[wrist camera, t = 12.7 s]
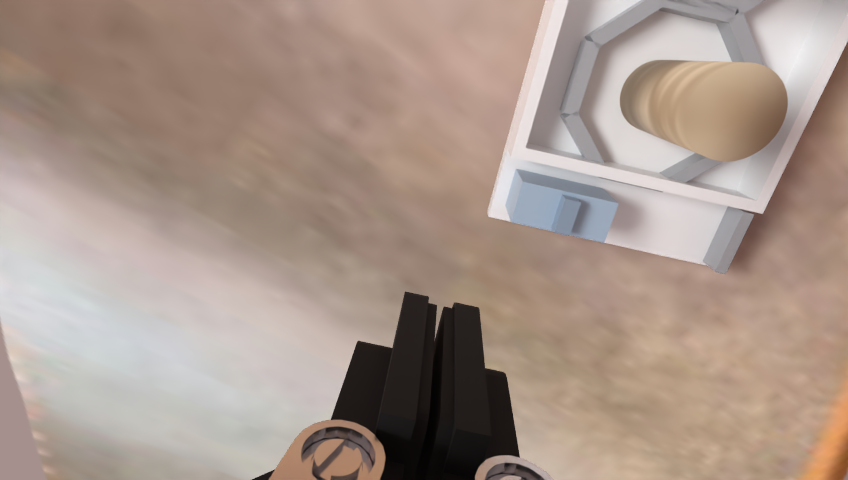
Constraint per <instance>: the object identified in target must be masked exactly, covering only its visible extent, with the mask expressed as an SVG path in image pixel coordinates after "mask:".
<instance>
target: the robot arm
mask: <svg viewBox="0 0 848 480" xmlns="http://www.w3.org/2000/svg"><path fill="white" fill-rule="evenodd" d="M428 300H429V297H428V296H423V295H419V294H414V293H409V292H405V294H404V299H403V303H402V308H401V312H400V317H399V321H398V326H397V330H396V335H395V339H394V344H393V348H389V347H384V346H380V345H375V344H371V343H366V342H361V341H358V342H357V344H356V347H355V350H354V353H353V356H352V359H351V362H350V365H349V368H348V371H347V374H346V377H345V380H344V383H343V385H342V388H341V391H340V394H339V397H338V400H337V403H336V406H335V409H334V412H333V415H332V418H331V420H326V421H322V422H318V423H314V424H313V425H311V426H309V427H307V428H306V429H304V430H303V431H302V432H301V433H300V434H299V435H298V436H297V437H296V438H295V440H294V441H293V443H292V444H291V446H290V447H289V449H288V450H287V452H286V454H285V455H284V457H283V458H282V460H281V461H280V463H279V464H278V466H277V467H276V469H275V470H273V471H271V472H268V473H266V474H264V475H261V476H259V477H257V478H255V479H252V480H554V479H553V478H552V477H551V476H550V475H549V474H548V473H547V472H546V471H544V470H543V469H541V468H540V467H539V466H537V465H536V464H534V463H532V462H529V461H527V460H525V459H523V458H520V456H519V450H518V444H517V438H516V431H515V425H514V419H513V413H512V407H511V401H510V395H509V388H508V382H507V377H506V374H505V373H504V372H500V371H496V370H491V369H486V368H485V363H484V353H483V343H482V332H481V322H480V312H479V308H478V307H474V306H469V305H464V304H460V303H454V305H453V307H452V308H448V307H444V308H443V311H442V315H441V319H440V322H439V326H438V330H437V334H436V338H435V326H436V311H437V305H435V304H430V303H428ZM434 340H435V342H434Z"/></svg>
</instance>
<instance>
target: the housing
mask: <svg viewBox="0 0 848 480" xmlns="http://www.w3.org/2000/svg"><path fill="white" fill-rule="evenodd" d="M847 42H848V0H546V1H545V4H544V8H543V12H542V15H541V19H540V22H539V26H538V30H537V33H536V37H535V41H534V44H533V48H532V51H531V55H530V59H529V62H528V66H527V70H526V73H525V77H524V80H523V84H522V88H521V91H520V95H519V99H518V102H517V106H516V109H515V113H514V117H513V120H512V124H511V128H510V131H509V135H508V138H507V142H506V146H505V149H504V153H503V157H502V160H501V164H500V167H499V171H498V175H497V178H496V182H495V186H494V189H493V193H492V196H491V200H490V204H489V207H488V211H487V212H488V217H492V218H497V219H501V220H506V221H510V218H509V215H508V212H507V209H506V206H505V204H506V201H507V197H508V194H509V190H510V187H511V183H512V180H513V177H514V173H515V170H516V169H520V170H525V171H529V172H534V173H538V174H542V175H547V176H551V177H556V178H560V179H564V180H569V181H573V182H578V183H582V184H587V185H591V186H595V187H600V188H603V189H604V190H605V191H606V192H607V193H608V194H609V195H610V196H612V197H613V198H614V199H615V200H616V201H617V202H618V203H619V205H618V207H617V210H616V213H615V215H614V218H613V221H612V223H611V226H610V229H609V231H608V234H607V237H606V239H605V242H604V243H608V244H613V245H617V246H622V247H626V248H631V249H635V250H640V251H644V252H648V253H653V254H657V255H662V256H666V257H671V258H675V259H680V260H684V261H689V262H693V263H698V264H702V265H706V266H709V267H710V268H711V269H712V270H713V271H715V272H718V273H722V274H726V272H727V270H728V268H729V266H730V264H731V262H732V260H733V258H734V256H735V253H736V251H737V249H738V247H739V245H740V243H741V241H742V239H743V237H744V235H745V233H746V231H747V229H748V227H749V225H750V223H751V221H752V219H753V216H754V214H753V213H751V212H749V211H752V212H756V213H761V214H763V212H764V210H765V208H766V206H767V204H768V202H769V200H770V198H771V196H772V194H773V192H774V190H775V188H776V186H777V184H778V182H779V180H780V178H781V176H782V174H783V172H784V170H785V168H786V165H787V163H788V161H789V159H790V157H791V155H792V153H793V151H794V149H795V147H796V145H797V143H798V141H799V139H800V137H801V135H802V133H803V131H804V129H805V127H806V125H807V123H808V121H809V119H810V117H811V115H812V113H813V111H814V109H815V107H816V105H817V103H818V100H819V98H820V96H821V94H822V92H823V90H824V88H825V86H826V84H827V82H828V80H829V78H830V76H831V74H832V72H833V70H834V68H835V66H836V64H837V62H838V60H839V58H840V56H841V54H842V52H843V50H844V48H845V46H846V44H847ZM653 60H686V61H718V62H751V63H758V64H761V65H764V66H766V67H768V68H770V69H771V70H773V71H774V72H775V73H776V74H777V75H778V76H779V77H780V78H781V80H782V81H783V83H784V85H785V88H786V91H787V97H788V106H787V113H786V116H785V119H784V122H783V124H782V126H781V128H780V130H779V131H778V133H777V134H776V136H775V137H774V138H773V139H772V141H771V142H770V143H769V144H767V145H766V146H765V147H764V148H763V149H761V150H760V151H758V152H757V153H755V154H753V155H751V156H749V157H747V158H744V159H741V160H737V161H729V162H724V161H716V160H712V159H709V158H707V157H705V156H702V155H700V154H697V153H695V152H693V151H690V150H688V149H685V148H683V147H680V146H678V145H676V144H673V143H671V142H668V141H666V140H664V139H661V138H659V137H656V136H654V135H652V134H649V133H647V132H644V131H642V130H639V129H637V128H635V127H633V126H632V125H631V124H629V123H628V122H627V121H626V119H625V118H624V116H623V114H622V112H621V108H620V93H621V90H622V87H623V84H624V83H625V81H626V79H627V78H628V76H629V75H630V74H631V73H632V72H633V71H634V70H635V69H636V68H638V67H639V66H641V65H643V64H644V63H647V62H650V61H653ZM510 222H511V221H510Z"/></svg>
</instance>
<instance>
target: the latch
mask: <svg viewBox="0 0 848 480" xmlns="http://www.w3.org/2000/svg"><path fill="white" fill-rule="evenodd" d="M618 205H619V203H618V202H617V201H616V200H615V199H614V198H613V197H612V196H610V195H609V194H608V193H607V192H606V191H605V190H604V189H603V188H600V187H595V186H591V185H587V184H582V183H578V182H573V181H569V180H564V179H560V178H556V177H551V176H547V175H542V174H538V173H534V172H529V171H525V170H520V169H516V170H515V173H514V177H513V180H512V183H511V187H510V190H509V194H508V197H507V201H506V204H505V206H506V209H507V212H508V215H509V218H510V221H511V222H513V223H517V224H522V225H526V226H531V227H535V228H540V229H544V230H549V231H553V232H554V233H558V234H563V235H567V236H570V235H571V236H575V237H580V238H584V239H589V240H593V241H598V242H602V243H604V242H605V239H606V237H607V234H608V231H609V229H610V226H611V223H612V221H613V218H614V215H615V213H616V210H617V207H618Z"/></svg>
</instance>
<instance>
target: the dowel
mask: <svg viewBox="0 0 848 480" xmlns="http://www.w3.org/2000/svg"><path fill="white" fill-rule="evenodd" d="M787 106H788V97H787V91H786V88H785V85H784V83H783V81H782V80H781V78H780V77H779V76H778V75H777V74H776V73H775V72H774V71H773V70H771V69H770V68H768V67H766V66H764V65H761V64H758V63H751V62H718V61H686V60H653V61H650V62H647V63H644V64H643V65H641V66H639V67H638V68H636V69H635V70H634V71H633V72H632V73H631V74H630V75H629V76H628V78H627V79H626V81H625V83H624V84H623V87H622V90H621V93H620V108H621V112H622V114H623V116H624V118H625V119H626V121H627V122H628V123H629V124H631V125H632V126H633V127H635V128H637V129H639V130H642V131H644V132H647V133H649V134H652V135H654V136H656V137H659V138H661V139H664V140H666V141H668V142H671V143H673V144H676V145H678V146H680V147H683V148H685V149H688V150H690V151H693V152H695V153H697V154H700V155H702V156H705V157H707V158H709V159H712V160H716V161H724V162H729V161H737V160H741V159H744V158H747V157H749V156H751V155H753V154H755V153H757V152H758V151H760V150H761V149H763V148H764V147H765V146H766V145H767V144H769V143H770V142H771V141H772V139H773V138H774V137H775V136H776V134H777V133H778V131H779V130H780V128H781V126H782V124H783V122H784V119H785V116H786V113H787Z"/></svg>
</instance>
